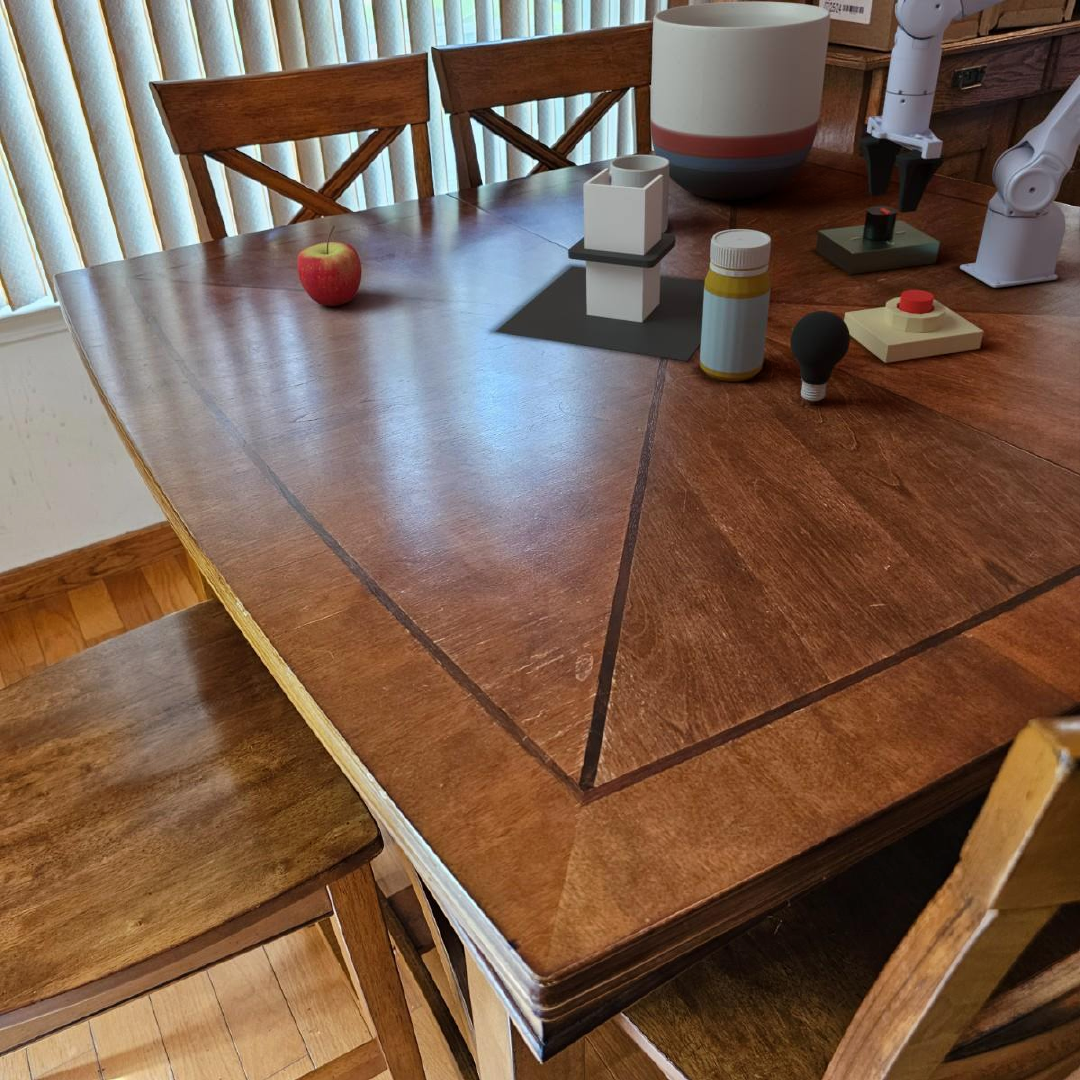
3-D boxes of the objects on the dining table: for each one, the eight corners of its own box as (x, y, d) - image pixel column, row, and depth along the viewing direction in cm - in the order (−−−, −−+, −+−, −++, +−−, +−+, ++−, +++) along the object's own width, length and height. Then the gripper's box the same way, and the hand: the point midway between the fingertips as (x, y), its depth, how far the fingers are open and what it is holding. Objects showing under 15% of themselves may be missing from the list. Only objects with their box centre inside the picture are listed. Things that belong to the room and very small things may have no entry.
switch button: (920, 302, 116) (923, 287, 115) (937, 313, 113) (940, 298, 112) (892, 306, 116) (895, 291, 115) (909, 317, 113) (911, 303, 112)
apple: (379, 299, 133) (368, 226, 128) (328, 319, 128) (315, 243, 123) (341, 286, 138) (330, 214, 132) (291, 304, 133) (277, 231, 127)
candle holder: (743, 287, 132) (754, 160, 122) (687, 360, 114) (694, 219, 105) (572, 266, 141) (569, 146, 131) (495, 331, 123) (485, 198, 114)
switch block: (931, 316, 122) (937, 285, 119) (979, 348, 114) (987, 316, 111) (842, 329, 119) (847, 297, 117) (885, 363, 111) (891, 330, 109)
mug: (677, 224, 154) (679, 158, 148) (649, 242, 148) (650, 174, 142) (616, 215, 159) (616, 150, 153) (586, 232, 153) (585, 166, 147)
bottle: (766, 360, 113) (779, 230, 105) (756, 386, 108) (769, 252, 99) (706, 353, 115) (714, 225, 107) (693, 379, 110) (701, 247, 101)
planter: (831, 180, 170) (854, 4, 154) (776, 226, 151) (796, 31, 136) (688, 164, 182) (695, -2, 166) (621, 205, 163) (622, 23, 148)
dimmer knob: (857, 232, 138) (861, 205, 136) (883, 229, 139) (887, 202, 137) (872, 241, 135) (876, 214, 133) (898, 238, 136) (903, 210, 134)
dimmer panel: (897, 240, 144) (901, 219, 142) (935, 263, 136) (940, 240, 134) (815, 251, 142) (818, 229, 140) (849, 274, 134) (853, 252, 132)
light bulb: (841, 417, 102) (855, 326, 96) (783, 413, 103) (793, 323, 97) (839, 391, 106) (852, 303, 101) (783, 388, 108) (793, 300, 102)
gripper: (852, 82, 126) (838, 190, 134) (911, 105, 115) (892, 222, 123) (902, 77, 127) (885, 185, 135) (966, 100, 116) (943, 216, 124)
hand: (892, 202), depth 129 cm, fingers open, 7 cm apart
